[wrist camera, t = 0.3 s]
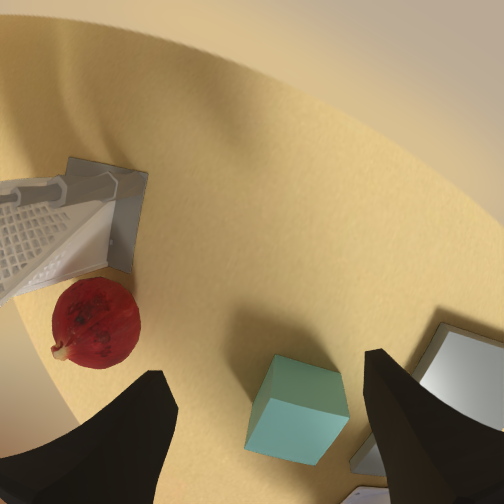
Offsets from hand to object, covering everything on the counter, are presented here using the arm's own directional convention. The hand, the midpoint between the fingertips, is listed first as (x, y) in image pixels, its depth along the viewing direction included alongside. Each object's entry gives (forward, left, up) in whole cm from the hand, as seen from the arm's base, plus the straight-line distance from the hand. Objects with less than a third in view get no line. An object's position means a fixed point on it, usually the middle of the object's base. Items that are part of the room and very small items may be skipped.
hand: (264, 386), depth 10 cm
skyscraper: (0, +14, -11) cm, 18 cm away
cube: (-7, -4, -10) cm, 13 cm away
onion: (-5, +10, -10) cm, 15 cm away
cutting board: (-6, -19, -10) cm, 22 cm away
